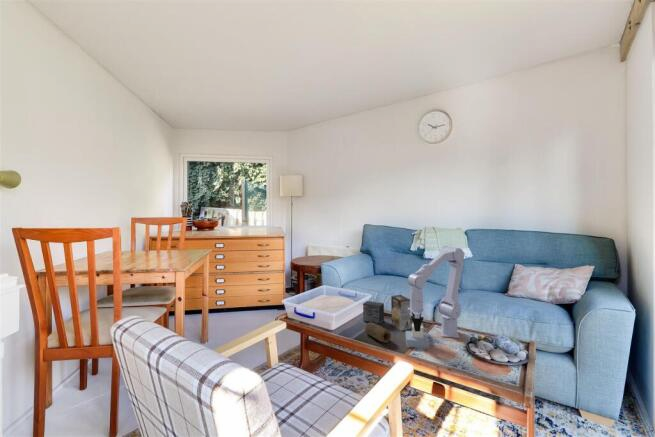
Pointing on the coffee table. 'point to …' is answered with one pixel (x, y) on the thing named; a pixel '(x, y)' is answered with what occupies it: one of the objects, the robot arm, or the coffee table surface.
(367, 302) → the small box
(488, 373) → the coffee table surface
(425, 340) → the base block
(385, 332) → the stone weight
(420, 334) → the cube
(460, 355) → the coffee table surface
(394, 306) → the coffee box
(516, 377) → the coffee table surface
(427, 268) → the robot arm
